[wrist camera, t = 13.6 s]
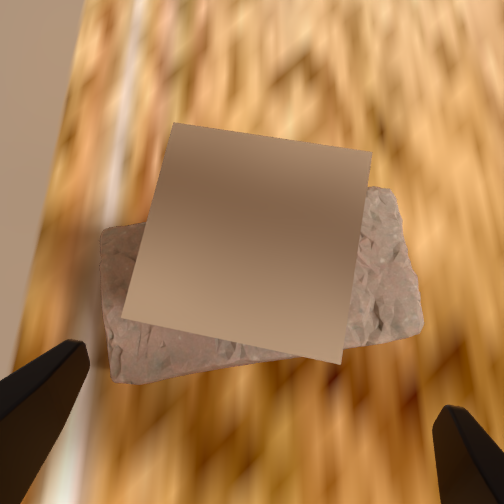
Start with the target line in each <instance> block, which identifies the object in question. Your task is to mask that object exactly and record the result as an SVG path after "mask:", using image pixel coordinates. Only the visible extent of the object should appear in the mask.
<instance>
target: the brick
mask: <svg viewBox="0 0 504 504" xmlns="http://www.w3.org/2000/svg"><path fill="white" fill-rule="evenodd" d="M145 226H146V222H144V223H138V224H133V225H128V226H116V227H111V228H108V229H105V230H103V232H102V234H101V237H100V254H101V257H102V261H101V263H100V265H99V266H100V274H101V298H102V312H103V320H104V326H105V333H106V340H107V348H108V358H109V364H110V375H111V379H112V381H113V382H115V383H126V384H135V385H141V384H148V383H152V382H157V381H160V380H164V379H168V378H173V377H178V376H183V375H187V374H192V373H198V372H205V371H211V370H216V369H221V368H228V367H235V366H242V365H248V364H253V363H259V362H267V361H276V360H280V359H290V358H295V357H302V356H297V355H293V354H288V353H283V352H279V351H274V350H269V349H265V348H260V347H255V346H251V345H246V344H241V343H236V342H232V341H227V340H222V339H218V338H213V337H208V336H204V335H199V334H194V333H190V332H185V331H180V330H175V329H171V328H166V327H161V326H157V325H152V324H147V323H143V322H138V321H133V320H129V319H124V318H121V315H122V311H123V308H124V304H125V300H126V296H127V293H128V289H129V285H130V282H131V278H132V274H133V271H134V267H135V263H136V259H137V256H138V252H139V248H140V245H141V241H142V237H143V234H144V230H145ZM423 325H424V319H423V313H422V308H421V303H420V292H419V291H418V278H417V275H416V273H415V272H414V271H413V269H412V267H411V262H410V259H409V257H408V249H407V246H406V244H405V240H404V236H403V228H402V218H401V215H400V213H399V210H398V205H397V200H396V197H395V196H394V194H393V193H392V191H391V190H390V189H384V188H380V187H375V186H373V187H367V192H366V198H365V205H364V212H363V219H362V225H361V232H360V239H359V245H358V252H357V259H356V266H355V272H354V279H353V286H352V292H351V299H350V306H349V313H348V319H347V326H346V333H345V339H344V346H343V350H344V349H349V348H354V347H361V346H369V345H375V344H381V343H387V342H390V341H394V340H399V339H405V338H408V337H411V336H413V335H416V334H419V333H420V332H421V330H422V328H423Z"/></svg>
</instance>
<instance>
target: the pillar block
mask: <svg viewBox="0 0 504 504" xmlns="http://www.w3.org/2000/svg"><path fill="white" fill-rule="evenodd" d="M371 158H372V152H368V151H361V150H354V149H348V148H341V147H334V146H328V145H321V144H314V143H308V142H301V141H294V140H288V139H281V138H274V137H268V136H261V135H254V134H248V133H241V132H234V131H228V130H221V129H214V128H208V127H201V126H194V125H187V124H181V123H173V126H172V130H171V134H170V137H169V141H168V145H167V148H166V152H165V156H164V160H163V163H162V167H161V171H160V174H159V178H158V182H157V185H156V189H155V193H154V197H153V200H152V204H151V208H150V211H149V215H148V219H147V222H146V226H145V230H144V234H143V237H142V241H141V245H140V248H139V252H138V256H137V259H136V263H135V267H134V271H133V274H132V278H131V282H130V285H129V289H128V293H127V296H126V300H125V304H124V308H123V311H122V315H121V318H124V319H129V320H133V321H138V322H143V323H147V324H152V325H157V326H161V327H166V328H171V329H175V330H180V331H185V332H190V333H194V334H199V335H204V336H208V337H213V338H218V339H222V340H227V341H232V342H236V343H241V344H246V345H251V346H255V347H260V348H265V349H269V350H274V351H279V352H283V353H288V354H293V355H297V356H302V357H307V358H312V359H316V360H321V361H326V362H330V363H335V364H340V365H341V360H342V353H343V346H344V339H345V333H346V326H347V319H348V313H349V306H350V299H351V292H352V286H353V279H354V272H355V266H356V259H357V252H358V245H359V239H360V232H361V225H362V219H363V212H364V205H365V198H366V192H367V185H368V178H369V172H370V165H371Z"/></svg>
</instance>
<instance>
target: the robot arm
mask: <svg viewBox="0 0 504 504" xmlns="http://www.w3.org/2000/svg"><path fill="white" fill-rule="evenodd" d="M89 367H90V361H89V357H88V353H87V349H86V345H85V343H84V342H83V341H78V340H72V339H68V340H65V341H64V342H62V343H60V344H59V345H57V346H55V347H54V348H52V349H51V350H49V351H47V352H46V353H44V354H43V355H41V356H39V357H38V358H36V359H35V360H33V361H31V362H30V363H28V364H26V365H25V366H23V367H22V368H20V369H18V370H17V371H15V372H14V373H12V374H10V375H9V376H7V377H5V378H4V379H2V380H1V381H0V504H20V503H21V502H22V500H23V498H24V496H25V495H26V493H27V491H28V489H29V488H30V486H31V484H32V482H33V481H34V479H35V477H36V475H37V473H38V472H39V470H40V468H41V466H42V465H43V463H44V461H45V459H46V458H47V456H48V454H49V452H50V451H51V449H52V447H53V445H54V444H55V442H56V440H57V438H58V436H59V435H60V433H61V431H62V429H63V427H64V425H65V423H66V421H67V419H68V416H69V414H70V412H71V410H72V407H73V405H74V403H75V401H76V398H77V396H78V394H79V392H80V389H81V387H82V385H83V383H84V380H85V378H86V376H87V374H88V371H89ZM432 435H433V443H434V452H435V460H436V469H437V477H438V486H439V493H440V500H441V504H504V452H503V451H502V450H501V449H500V448H499V446H498V445H497V444H496V443H495V442H494V441H493V440H492V438H491V437H490V436H489V435H488V434H487V433H486V431H485V430H484V429H483V428H482V427H481V426H480V424H479V423H478V422H477V421H476V420H475V419H474V417H473V416H472V415H471V414H470V413H469V412H468V411H467V410H466V409H465V408H463V407H459V406H454V405H445V406H444V407H443V409H442V410H441V412H440V414H439V415H438V417H437V419H436V420H435V422H434V424H433V429H432Z"/></svg>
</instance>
